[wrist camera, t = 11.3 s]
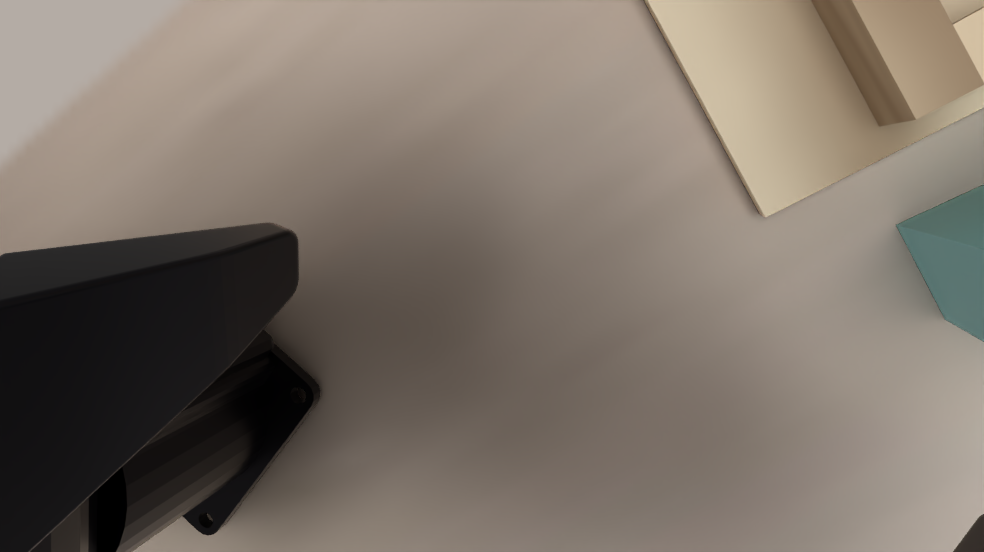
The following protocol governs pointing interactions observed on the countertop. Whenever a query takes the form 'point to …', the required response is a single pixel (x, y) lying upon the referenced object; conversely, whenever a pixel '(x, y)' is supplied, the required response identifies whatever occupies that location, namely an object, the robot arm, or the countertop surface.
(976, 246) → the teal panel
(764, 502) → the countertop surface
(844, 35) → the rack
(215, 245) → the robot arm
